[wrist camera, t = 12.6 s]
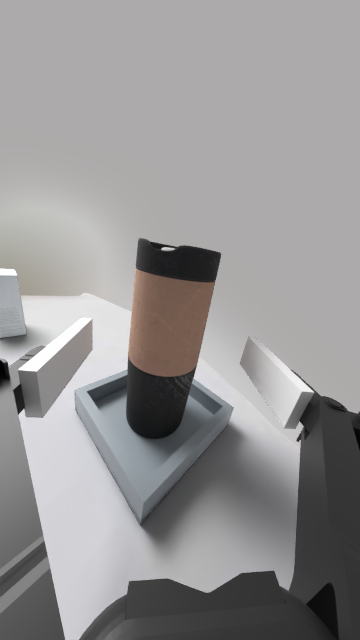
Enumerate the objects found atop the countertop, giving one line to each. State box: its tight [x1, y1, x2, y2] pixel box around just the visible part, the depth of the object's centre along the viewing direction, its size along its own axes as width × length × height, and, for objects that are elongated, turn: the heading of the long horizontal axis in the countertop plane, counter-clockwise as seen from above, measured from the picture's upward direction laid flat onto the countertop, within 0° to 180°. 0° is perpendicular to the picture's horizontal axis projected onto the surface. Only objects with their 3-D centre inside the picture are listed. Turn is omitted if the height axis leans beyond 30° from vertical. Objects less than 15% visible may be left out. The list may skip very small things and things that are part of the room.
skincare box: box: [0, 269, 26, 338], centre depth 35 cm, size 6×4×12 cm
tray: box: [74, 370, 234, 525], centre depth 23 cm, size 14×14×3 cm
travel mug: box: [126, 238, 221, 439], centre depth 20 cm, size 8×8×20 cm
